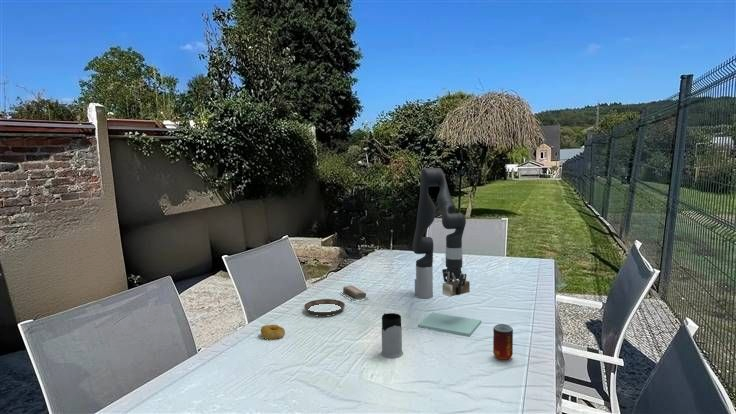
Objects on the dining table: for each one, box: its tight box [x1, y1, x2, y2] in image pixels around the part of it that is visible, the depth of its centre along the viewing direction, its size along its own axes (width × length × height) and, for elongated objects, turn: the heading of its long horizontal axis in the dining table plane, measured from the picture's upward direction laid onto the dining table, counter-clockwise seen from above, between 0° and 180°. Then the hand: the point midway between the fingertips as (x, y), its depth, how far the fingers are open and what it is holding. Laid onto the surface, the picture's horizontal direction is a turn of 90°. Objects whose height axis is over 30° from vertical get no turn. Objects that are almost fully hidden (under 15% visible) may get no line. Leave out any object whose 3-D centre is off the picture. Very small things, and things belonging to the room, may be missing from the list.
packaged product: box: [340, 285, 369, 301], centre depth 245 cm, size 18×5×10 cm
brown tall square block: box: [441, 280, 471, 297], centre depth 201 cm, size 5×5×12 cm
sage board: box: [417, 311, 482, 337], centre depth 200 cm, size 24×18×1 cm
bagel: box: [260, 324, 286, 340], centre depth 191 cm, size 10×11×5 cm
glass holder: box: [380, 312, 404, 359], centre depth 173 cm, size 9×14×15 cm, turn 15°
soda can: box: [492, 323, 514, 362], centre depth 165 cm, size 7×7×12 cm
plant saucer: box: [304, 298, 346, 317], centre depth 223 cm, size 21×21×3 cm
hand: (454, 293), depth 200 cm, fingers closed on brown tall square block, 5 cm apart
